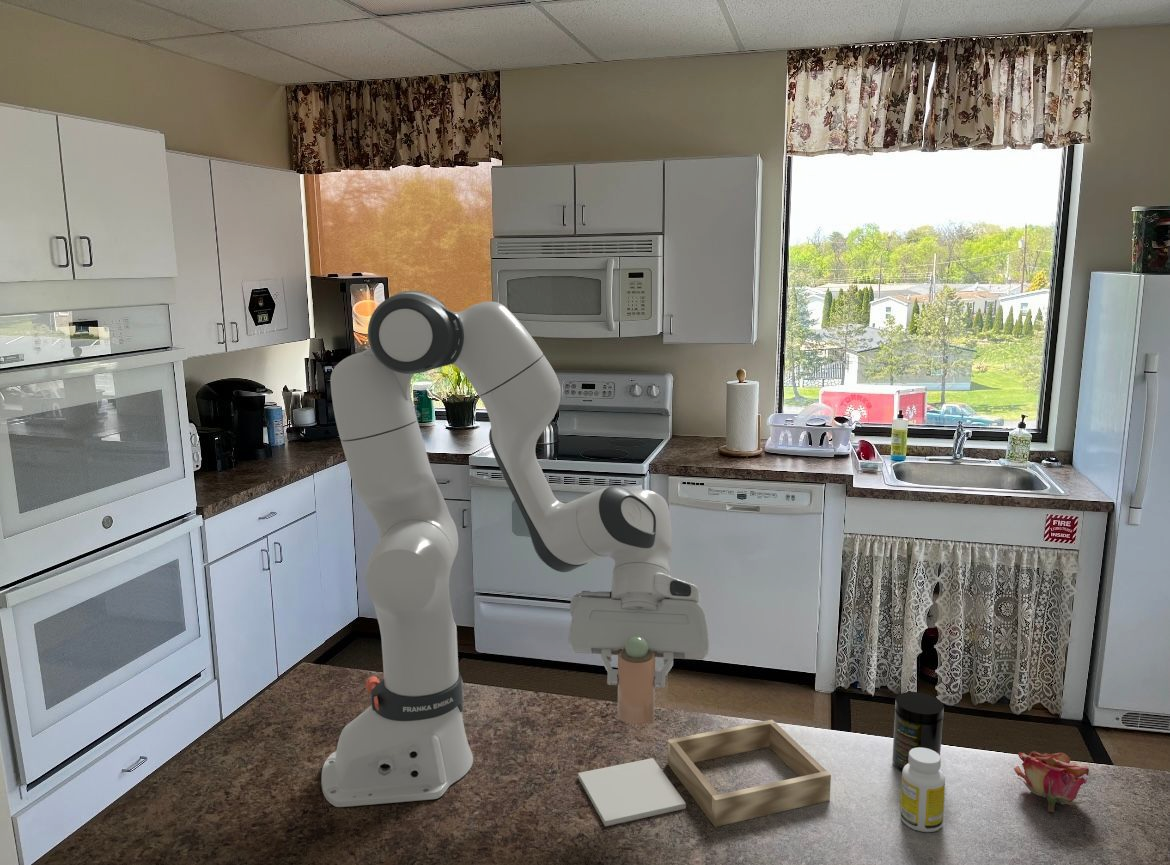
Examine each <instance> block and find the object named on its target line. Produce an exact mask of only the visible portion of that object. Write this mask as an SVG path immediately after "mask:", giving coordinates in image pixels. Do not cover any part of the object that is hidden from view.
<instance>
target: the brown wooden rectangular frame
mask: <svg viewBox="0 0 1170 865" xmlns="http://www.w3.org/2000/svg"><path fill="white" fill-rule="evenodd" d="M766 748H769V749H771V751H773V752H774V754H776V756H777V757H778V758H780V759H781V760H782V762H784V763H785V764H786V765H787V766H788V767H789V769H791V770H792V771H793V773H794V774H795V775H797V777H793V778H788V779H784V780H779V781H774V782H770V783H765V784H760V785H755V786H751V787H747V788H743V789H742V788H741V789H739V790H738V789H737V790H734V791H728V792H725V793H718V792H717V790H716V789H715V788H714V787H713V785H712V784H711V783H710V782H709V780H708V779H707V778H706V777H705V776H704V774H703V773H702V771H700V769H699V768H698V767H697V765H695V763H699V762H702V761H708V760H713V759H718V758H722V757H727V756H731V755H737V754H743V753H746V752H752V751H757V750H761V749H766ZM667 766H668V767H669V768H670V769H671V771H672V772H673V773H674V775H676V777H677V778H678V780H679V781H680V782H681V784H682V785H683V787H684V788H685V789H686V790H687V792H688V793H689V794H690V796H691V797H692V799H693V800H694V801H695V802H696V804H697V805H698V807H700V809H701V811H702V812H703V813H704V815H705V816H706V817H707V819H708V820H709V821H710V822H711V823H712V825H713V826H714V827H715V828H718V827H722V826H724V825H726V826H727V825H730V824H733V823H738V822H742V821H746V820H751V819H755V818H760V817H764V816H769V815H772V814H777V813H781V812H785V811H789V810H794V809H798V808H803V807H807V806H812V805H816V804H819V803H825V802H828V801H830V799H831V781H832V774H831V773H830V772H829V771H828V770H826V769H825V767H824V766H822V765H821V764H820V763H819V762H818V761H817V760H816V759H815V758H814V757H813V756H812V755H811V754H809V752H808V751H807V750H805V749H804V748H803V747H802V746H801V744H799V743H798V742H797V741H796V740H795V739H794V738H793V737H791V735H789V734H788V733H787V732H786V731H785V730H784V729H783V728H782V727H781V726H780V725H779V724H778V723H777V722H776V721H774V719H768V720H763V721H757V722H752V723H748V724H743V725H737V726H731V727H726V728H722V729H717V730H712V731H705V732H701V733H697V734H692V735H686V736H681V737H675V738H670V739H667Z"/></svg>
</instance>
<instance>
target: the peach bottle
mask: <svg viewBox="0 0 1170 865" xmlns="http://www.w3.org/2000/svg"><path fill="white" fill-rule="evenodd" d="M617 670H618V685H617V717H618V719H619V720H620V721H621V722H623V723H626V724H628V725H646V724H648V723H649V722H650V723H651V721H653V720H654V719H655V696H656V692H655V691H656V690H655V689H656V687H654V679H655V672H656V657H655V654H654V653H653V652H652V651H650V650H648V644H647V642H646V640H645V639H644V638H642V637H640V636H633V637H631V638H630V639H628V641H627V642H626V645H625V649H624V650H622V651H621V652H619V654H618V655H617Z"/></svg>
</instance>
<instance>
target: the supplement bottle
mask: <svg viewBox="0 0 1170 865" xmlns="http://www.w3.org/2000/svg"><path fill="white" fill-rule="evenodd" d="M908 760H909V763H908V764H906V765H905V766H904V768H903V772H902V774H901V792H900V811H899V812H900V813H899V814H900V819H901V821H902V823H904V824H905V825H906V826H907V827H909V828H910V829H912V830H914V831H918V832H923V833H933V832H937V831H939V830H940V829H941V827H942V826H943V822H944V810H945V809H944V807H945V793H946V792H945V790H946V788H945V786H946V777H945V774H944V772H943V771H942V769H941V766H942V765H941V763H942V762H941V761H942V758H941V754H940V755H939V754H938V753H937V752H935V751H933V750H931V749H927V748H920V747H919V748H913V749H911V750H910V751H909V759H908Z"/></svg>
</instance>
